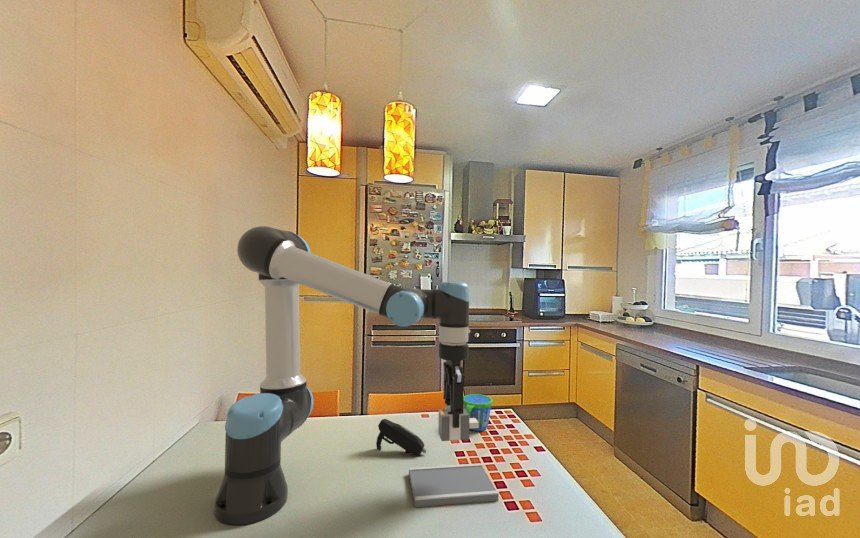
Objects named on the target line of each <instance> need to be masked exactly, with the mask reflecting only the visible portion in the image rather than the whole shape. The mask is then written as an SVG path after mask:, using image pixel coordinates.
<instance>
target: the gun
mask: <svg viewBox="0 0 860 538" xmlns="http://www.w3.org/2000/svg"><path fill="white" fill-rule="evenodd" d="M377 427H378V430H379V433H378V435H377V437H376V443H375V444H376V449H377V450H378V451H381V450H382V442H383V441H385V443H388V444H390V445H393V444H395V445H397V446H398V447H399V448H401V449H403V450H404V451H406V452H407V453H409V454H411V455H412V456H414V457H419V456H420V455H421V454H422V453H423V454H426V453H427V452H428V450H427V449H426V448H425V443H424V441H423V440H422V439H421V438H420V437H419V436H418V435H417V434H416V433H414V432H413V431H411V430H409V429H408V428H406V427H405V426H403V425H401V424H399V423H396V422H393V421H391V420H389V419H387V418H383V419H381V421H379V424H378V425H377Z"/></svg>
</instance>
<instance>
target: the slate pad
mask: <svg viewBox="0 0 860 538" xmlns="http://www.w3.org/2000/svg"><path fill="white" fill-rule="evenodd" d="M408 477H409V483H410V487H411V493H412V498H413V503H414V507H415V508H420V507H432V506H433V507H434V506H445V505H446V506H447V505H457V504H458V505H459V504H470V503H471V504H473V503H484V502H498V501H499V491H498V490H497V489H496V487H495V485H494V484H493V482H492V481H491V479H490V478H489V476H488V474H487V472H486V471H485V468H484V467H483V464H482V463H467V464H463V463H462V464H449V465H437V466H436V465H433V466H417V467H408Z"/></svg>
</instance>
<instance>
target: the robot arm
mask: <svg viewBox="0 0 860 538" xmlns="http://www.w3.org/2000/svg"><path fill="white" fill-rule="evenodd" d="M236 249H237V250H236V251H237V257H238V259H239V261H240V262H241V264H242V265H243V266H244V267H245V268H246V269H248V270H249V271H251V272H254V273H256V274H257V275H258V282H259V283H260V284H261V285H262V286H263V287H264V302H265V304H264V307H265V308H264V309H265V314H264V315H265V316H264V319H265V369H266V370H265V371H266V372H265V374H266V375H265V378H264V379H263V381H262V382H260V384H259V393H256V394H252V395H251V396H244V397H243V398H239V399H238V400H236V401H235V402H234V403H232V405H230V407H229V408H228V410H227V413H226V421H225V425H224V429H225V430H224V431H225V444H224V447H225V448H224V449H225V450H224V451H225V452H224V476H223V478H222V481H221V484H220V486H219V489H218V492H217V495H216V498H215V500H214V516H215V518H216V519H217V521H218V522H221V523H222V524H225V525H233V526H240V525H241V526H242V525H248V524H253V523H257V522H260V521H263V520H265V519H268V518H269V517H271V516H273V515H274V514H276V513H277V512H279V511H280V510H281V509H282V508H283V507H284V506H285V504H286V503H287V501H288V495H289V494H288V492H289V491H288V490H289V489H288V483H287V481H286V480H287V479H286V478H285V474H284V472H283V468H282V465H281V460H282V459H281V458H282V457H281V456H282V455H281V454H282V442H283V441H284V440H285V439H287V437H289V436H290V435H291V434H292V433H293V432H295V430H297V429H298V428H300V427H301V426H303V424H304V423H305V422H306V421H307V420H308V418H309V417H310V415H311V413H312V411H313V408H314V396H313V393H312V391H311V389H309V388H308V385H307V381H308V380H307V377H305V376H304V375H303V374H302V373H301V334H300V332H301V331H300V330H301V327H300V326H301V325H300V322H301V321H300V286H301V285H302V286H305V287H307V288H309V289H313V290H314V291H318V292H319V293H323V294H325V295H328V296H330V297H333V298H336V299H338V300H340V301H343V302H346V303H348V304H351V305H354V306H356V307H358V308H361V309H364V310H367V311H368V312H372V313H374V314H377V315H379V316H382V317H384V318H386V319H389V321H390V322H391V323H392V324H394V325H395V326H398V327H403V328H404V327H410V326H411V327H412V325H415V324H418V322H419V321H420V320H421V319H423V320H424V319H425V320H426V319H427V320H428V319H430V320H431V319H433V320H434V319H435V320H436V319H438V320H439V325H438V341H439V342H440V343H439V344H438V357H439V358H440V359H441V360H444V361H443V365H442V366H443V395H442V396H443V400H444V410H450V409H451V411H449V412H448V415H449V440H452V441H461V440H460V432H461V414H463V412H464V411H463V409H464V405H463V400H464V396H465V393H464V392H465V391H464V388H465V385H464V384H465V377H466V376H465V373H464V371H463V366H462V365H461V364H462V363H461V362H462V361H465V360H467V359H468V358H469V344H468V342H469V334H470V333H471V329H469V326H470V325H469V322H470V321H469V320H470V289H469V288H470V287H469V285H468V283H466V282H460V281H459V282H457V281H456V282H455V281H447V282H446V281H445V282H444V281H443V282H440V284H439V288H437V289H424V288H423V289H420V288H404V287H401V286H399V285H396V284H392V283H390V282H388V281H385V280H382V279H380V278H378V277H375V276H372V275H369V274H367V273H363V272H361V271H359V270H356V269H353V268H350V267H348V266H345V265H343V264H340V263H338V262H335V261H332V260H329V259H327V258H325V257H323V256H320V255H317V254H314V253H312V252H311V248H310V246H309V244H308V242H307V241H306V240H305V239H304V238H303V237H302V236H300V235H298V234H297V233H294V232H293V231H288V230H287V231H286V230H284V229H278V228H275V227H271V226H264V225H263V226H256V227H252V228H250V229H248V230H247V231H245V232H244V233H243V234H242V235H241V236H240V238H239V240H238V243H237V248H236Z"/></svg>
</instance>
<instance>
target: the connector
mask: <svg viewBox="0 0 860 538" xmlns="http://www.w3.org/2000/svg"><path fill="white" fill-rule="evenodd" d="M449 411H451V409H450V410H445V409H442V408H441V407H438V435H439V436H438V437H439V438H440V440H441V442H450V441H451V442H452V441H453V440H449V415H448V412H449ZM463 411H464V412H463V414H461V432H460V440H459V441H462V440H463V441H464V440H465V441H466V440H470V430H471V428H479V422H478V421H477V420H476V418H469V414H468V412H467V411H466V410H465V409H464V408H463Z"/></svg>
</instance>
